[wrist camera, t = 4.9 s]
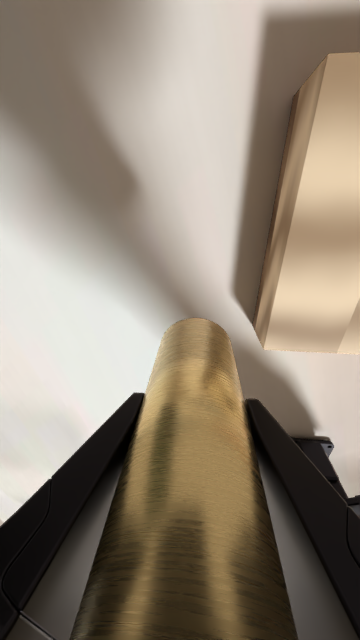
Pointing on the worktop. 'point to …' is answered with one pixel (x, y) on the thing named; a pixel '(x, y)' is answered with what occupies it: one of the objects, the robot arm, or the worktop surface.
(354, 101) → the bore block
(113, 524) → the pin
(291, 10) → the worktop surface
